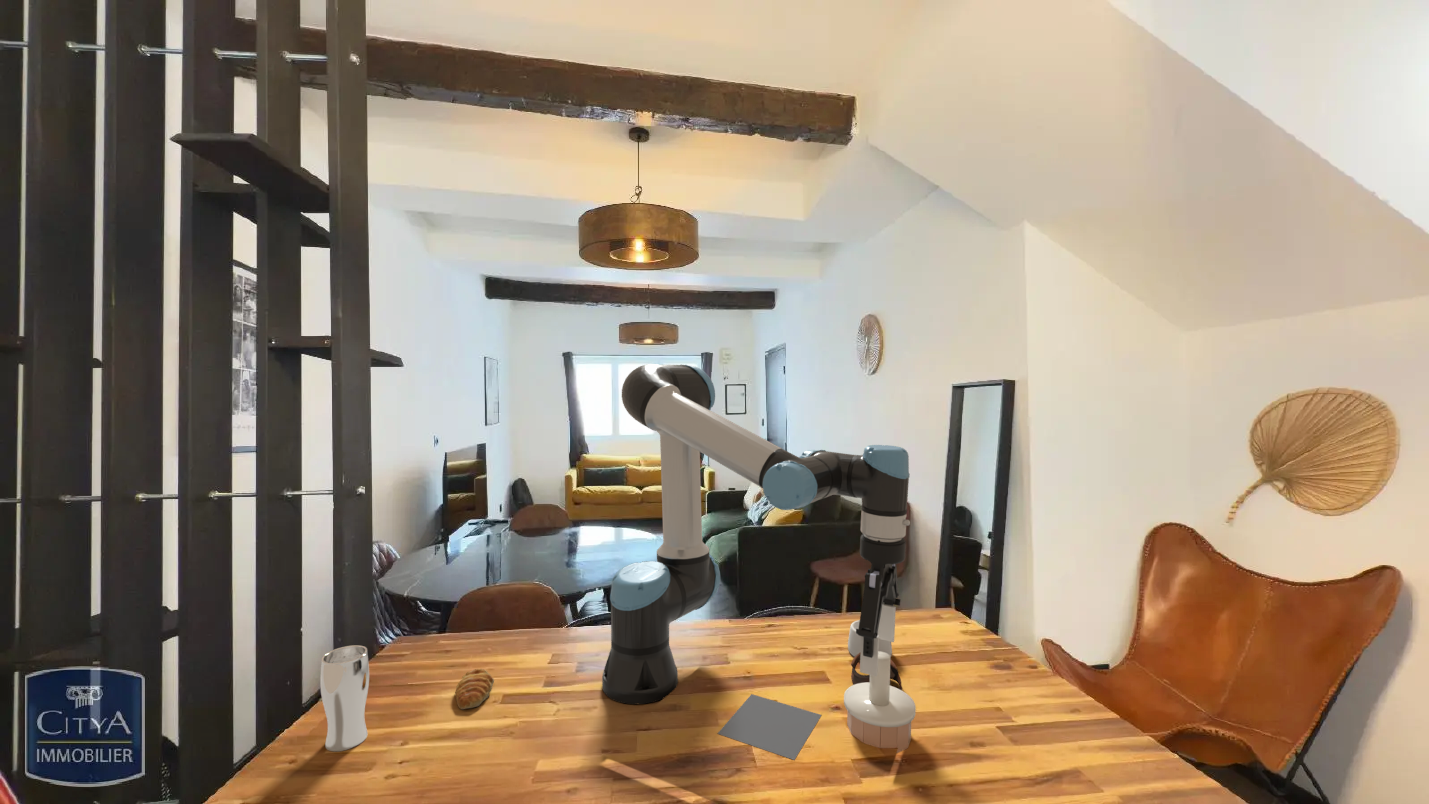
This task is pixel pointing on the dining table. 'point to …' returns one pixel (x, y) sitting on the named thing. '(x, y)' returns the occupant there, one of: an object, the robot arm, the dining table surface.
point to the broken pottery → (860, 678)
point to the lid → (880, 699)
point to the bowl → (880, 734)
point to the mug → (855, 641)
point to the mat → (771, 726)
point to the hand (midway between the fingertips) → (877, 655)
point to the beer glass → (345, 696)
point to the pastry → (473, 688)
